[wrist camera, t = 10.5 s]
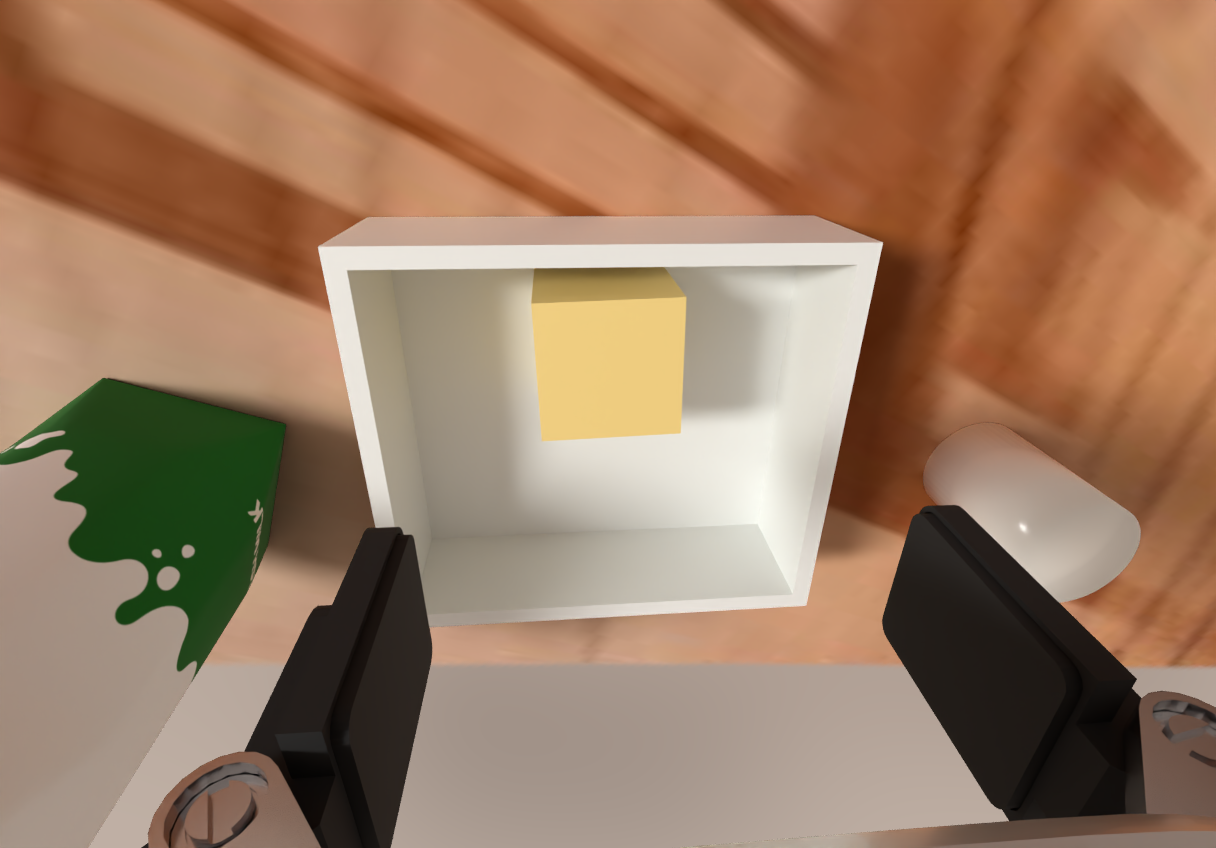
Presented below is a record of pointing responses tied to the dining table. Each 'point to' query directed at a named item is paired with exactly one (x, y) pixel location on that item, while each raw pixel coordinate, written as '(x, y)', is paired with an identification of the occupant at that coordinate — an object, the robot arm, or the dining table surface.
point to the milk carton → (116, 589)
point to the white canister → (1034, 509)
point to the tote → (600, 467)
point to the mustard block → (608, 351)
